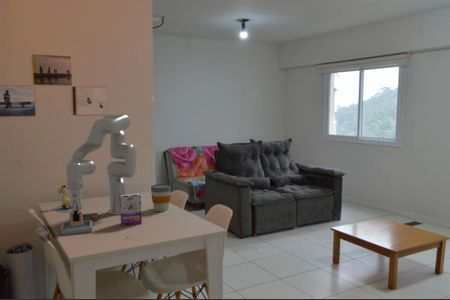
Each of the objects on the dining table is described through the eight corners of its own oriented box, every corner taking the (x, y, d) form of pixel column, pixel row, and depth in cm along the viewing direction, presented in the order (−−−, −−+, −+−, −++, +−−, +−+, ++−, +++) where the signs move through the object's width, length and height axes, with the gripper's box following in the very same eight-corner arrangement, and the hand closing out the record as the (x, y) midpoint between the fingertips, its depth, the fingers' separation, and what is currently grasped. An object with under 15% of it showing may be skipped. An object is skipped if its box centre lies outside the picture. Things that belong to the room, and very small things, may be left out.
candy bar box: (141, 221, 214) (140, 192, 213) (141, 223, 210) (140, 194, 208) (120, 222, 211) (119, 194, 210) (120, 225, 207) (119, 196, 205)
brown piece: (97, 216, 225) (97, 212, 225) (97, 220, 216) (97, 216, 215) (72, 218, 221) (72, 214, 221) (71, 223, 211) (70, 218, 211)
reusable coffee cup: (173, 206, 245) (173, 184, 244) (168, 212, 233) (168, 188, 231) (154, 206, 247) (154, 183, 245) (148, 211, 234) (148, 187, 233)
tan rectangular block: (83, 223, 202) (81, 210, 201) (83, 224, 200) (81, 211, 199) (71, 224, 201) (69, 211, 200) (70, 226, 198) (69, 213, 197)
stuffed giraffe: (63, 204, 253) (62, 181, 250) (87, 207, 248) (86, 183, 246) (46, 212, 237) (45, 187, 235) (71, 214, 233) (70, 189, 230)
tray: (92, 224, 210) (92, 219, 209) (91, 232, 195) (91, 227, 195) (63, 226, 205) (63, 222, 205) (60, 235, 191) (59, 230, 191)
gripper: (81, 188, 191) (83, 224, 193) (83, 182, 207) (85, 215, 209) (65, 189, 189) (67, 225, 191) (68, 183, 204) (70, 216, 206)
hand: (76, 219), depth 200 cm, fingers open, 3 cm apart
